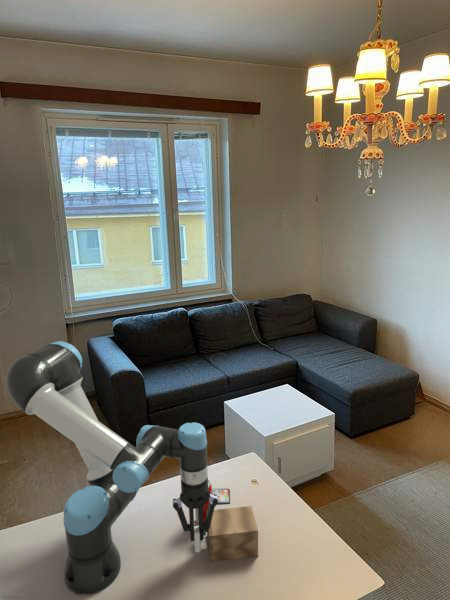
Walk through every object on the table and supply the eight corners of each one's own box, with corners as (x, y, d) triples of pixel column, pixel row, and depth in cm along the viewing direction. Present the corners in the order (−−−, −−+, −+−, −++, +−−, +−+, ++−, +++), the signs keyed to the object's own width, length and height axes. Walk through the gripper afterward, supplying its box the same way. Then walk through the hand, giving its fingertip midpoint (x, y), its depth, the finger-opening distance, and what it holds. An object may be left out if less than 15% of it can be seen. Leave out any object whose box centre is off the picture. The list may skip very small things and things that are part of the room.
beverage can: (214, 516, 139) (213, 476, 136) (212, 531, 133) (210, 490, 129) (197, 515, 140) (195, 475, 136) (193, 530, 133) (191, 489, 130)
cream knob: (200, 551, 122) (199, 543, 121) (199, 543, 125) (199, 535, 124) (227, 548, 123) (227, 540, 122) (226, 540, 125) (226, 532, 125)
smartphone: (229, 503, 144) (186, 503, 144) (230, 505, 145) (186, 506, 145) (229, 488, 152) (187, 488, 152) (229, 490, 152) (188, 490, 152)
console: (210, 562, 122) (209, 536, 120) (207, 535, 131) (206, 510, 129) (258, 556, 123) (258, 530, 121) (251, 530, 133) (251, 505, 131)
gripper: (170, 489, 113) (175, 561, 119) (219, 484, 114) (221, 556, 120) (170, 471, 120) (174, 540, 126) (216, 467, 122) (218, 535, 127)
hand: (197, 548), depth 123 cm, fingers closed
